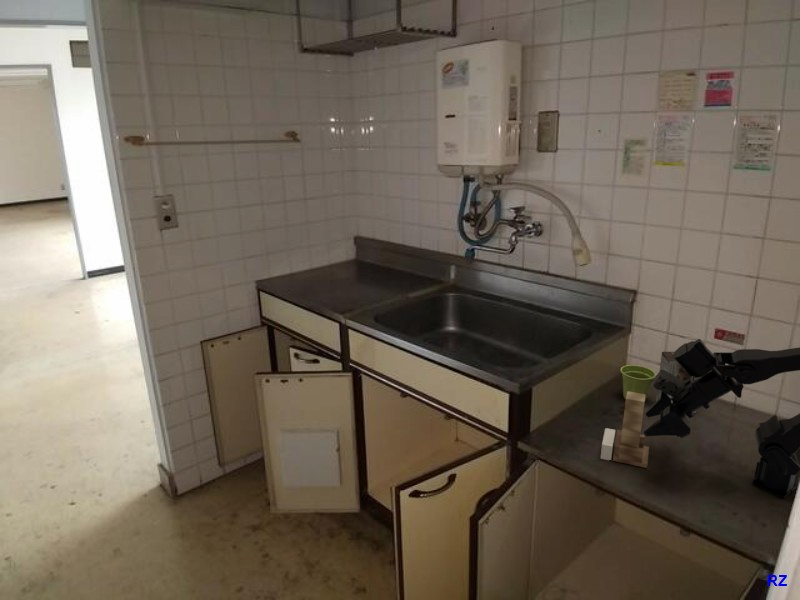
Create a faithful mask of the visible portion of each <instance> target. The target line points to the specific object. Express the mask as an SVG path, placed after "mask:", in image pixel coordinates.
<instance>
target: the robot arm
mask: <svg viewBox="0 0 800 600" xmlns="http://www.w3.org/2000/svg"><path fill="white" fill-rule="evenodd" d="M673 352H674V353H673V356H672V357H673V358H674V359H675V360H676V361H677V362H678V363H679V364H680V365H681V366H682V367H683V369H684V370H685V371H686V372H687V373H688V374H689V375H690V376H695V377H696V378H697V377H699V378H697V379H696V380H694V381H693V380H692V379H690V380H689V379H687V380H685V381H682V380H680V379H679V378H678V377H676V376H674V375H672V374H670V373H669V372H667V371H665V370H663V369H661V370H660V369H659V371H658V373H657V374H656V376H655V378H654V379H653V381H652V386H653V388H655V389H656V391H657V390H661V396H660V398H659V399H658V400H657V401H656V400H655V401H654V403H653V404H652V406H651V407H649V408H648V410H647V411H645V416H646V417H647V418H651V417H655V416H659V419H658V420H657V421H655V422H654V423H652V424H651V425H650V426H648V428H647V429H645V430H644V431H643V435H644V436H646V437H656V436H676V437H677V438H678V437H680V438H681V439H683V438H685V437H688V436H690V435H691V429H692V428H691V427H692V426H691V421H690V420H689V419H692V418H693V417H694V416H695V415H694V413H693V412H695V411H696V412H697V411H698V410H700V409H703V408H704V409H705V410H707V409H709V408H711V403H713V402H714V401H717V400H718V399H719V398H721V397H723V396H725V395H727V394H728V393H730V392H733V394H734V395H735V396H736V397H737V398H739V399H741V398H742V392H743V389H744V385H753V384H757V383H760V382H764V381H767V380H769V379H771V378H772V377H774V376H776V375H780V374H783V373H789V372H790V373H791V372H796V371H797V372H798V371H800V346H799V347H793V348H786V349H779V350H767V349H760V348H746V349H744V348H742V349H738V350H734V351H733V352H731V351H730V352H726V351H725V352H721V351H720V352H713V351H711V350H710V349H709V348H708V347H707V346H706V344H705V343H704V341H703V340H701V338H697V339H695V340H693V341H692V340H691V341H690V342H689V341H688V342H687V343H686V342H685V343H683V344H682V345H680V346H679V347H678V348H677V349H675V350H674V351H673ZM687 417H688V418H689V419H688V418H687ZM754 439H755V443H756V446H757V451H758V453H759V455H760V458H759V460H758V461H757V462H756V465H755V469H754V474H753V479H754V480H751V481H752V482H751V484H752V485H753V486H755V487H758V488H760V489H761V490H763V491H766V492H768V493H770V494H773V495H775V496H777V497H778V498H781V499H785V498H787V497H788V496H789V495H790V494H791V493H792V492H793V491H795V490H796V487H797V485H796V484H795V482H796V481H795V480H796V476H797V474H798V473H799V471H800V464H799V461H798V458H797V455H796V453H797V452H798V450H799V449H800V413H798V414H796V415H795V416H793V417H790V418H785V419H780V418H779V417H778V416H777V415H775V414H774V415H772V416H771V417H770V418H769V419H767V420H765V421H763V422H760V423H758V428H756V430H755V431H754ZM791 491H792V492H791Z"/></svg>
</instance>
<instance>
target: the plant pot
mask: <svg viewBox="0 0 800 600" xmlns="http://www.w3.org/2000/svg"><path fill="white" fill-rule="evenodd" d="M620 373H621V377H622V387H623V388H622V390H623V393H622V395H623V398H624V399H625V400H626V396H627V391H629V392H635V393H640V394H646V395H645V402H646V400H647V398H648V394H649V391H650V388H651V385H652V383H653V382H654V381H653V379H654V378H655V377H656V375H657V374H656V372H655V371H654V369H653V370H652V369H651V368H649V367H647V366H643V365H638V364H629V365H628V364H627V365H624V366H622V367H620Z"/></svg>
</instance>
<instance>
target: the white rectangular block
mask: <svg viewBox="0 0 800 600" xmlns="http://www.w3.org/2000/svg"><path fill="white" fill-rule="evenodd" d="M615 440H616V429H612V428H608V427H607V428H605V429H604V433H603V438H602V443H601V451H600V460H605V461H609V460H611V461H612V459H613V453H614V446H615Z"/></svg>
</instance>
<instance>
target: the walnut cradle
mask: <svg viewBox="0 0 800 600" xmlns="http://www.w3.org/2000/svg"><path fill="white" fill-rule="evenodd" d="M621 436H622V429H617V430H616V433H615V439H614V446H613V453H612V461H613V462H618V463H623V464H626V465H631V466H636V467H641V468H646V469H647V468H648V466H649V465H648V463H649V449H650V447H649V446H648V445H644V442H645V434H640V441H639V448H634V447H629V446H624V445H621Z"/></svg>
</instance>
